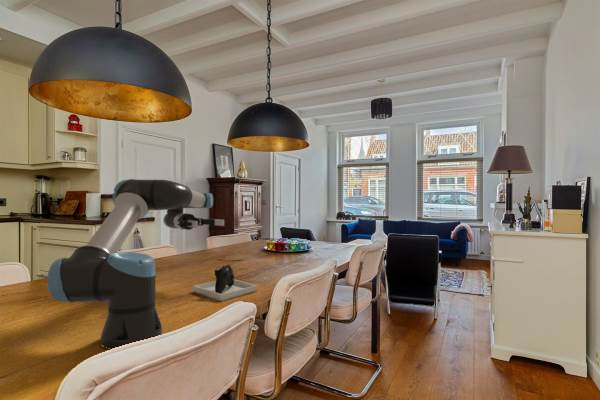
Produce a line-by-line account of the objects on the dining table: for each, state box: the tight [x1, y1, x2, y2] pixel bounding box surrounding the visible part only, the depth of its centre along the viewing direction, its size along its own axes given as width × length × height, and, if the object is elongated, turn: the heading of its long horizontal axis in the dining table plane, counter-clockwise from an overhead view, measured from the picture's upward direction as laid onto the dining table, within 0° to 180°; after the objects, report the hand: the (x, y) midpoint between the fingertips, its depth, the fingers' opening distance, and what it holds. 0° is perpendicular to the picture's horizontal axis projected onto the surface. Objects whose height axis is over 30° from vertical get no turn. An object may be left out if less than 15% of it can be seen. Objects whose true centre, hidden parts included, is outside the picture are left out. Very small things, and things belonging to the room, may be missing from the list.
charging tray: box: [192, 278, 258, 302], centre depth 139 cm, size 18×19×2 cm
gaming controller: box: [214, 264, 235, 294], centre depth 139 cm, size 14×6×10 cm, turn 169°
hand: (210, 223), depth 146 cm, fingers open, 13 cm apart
